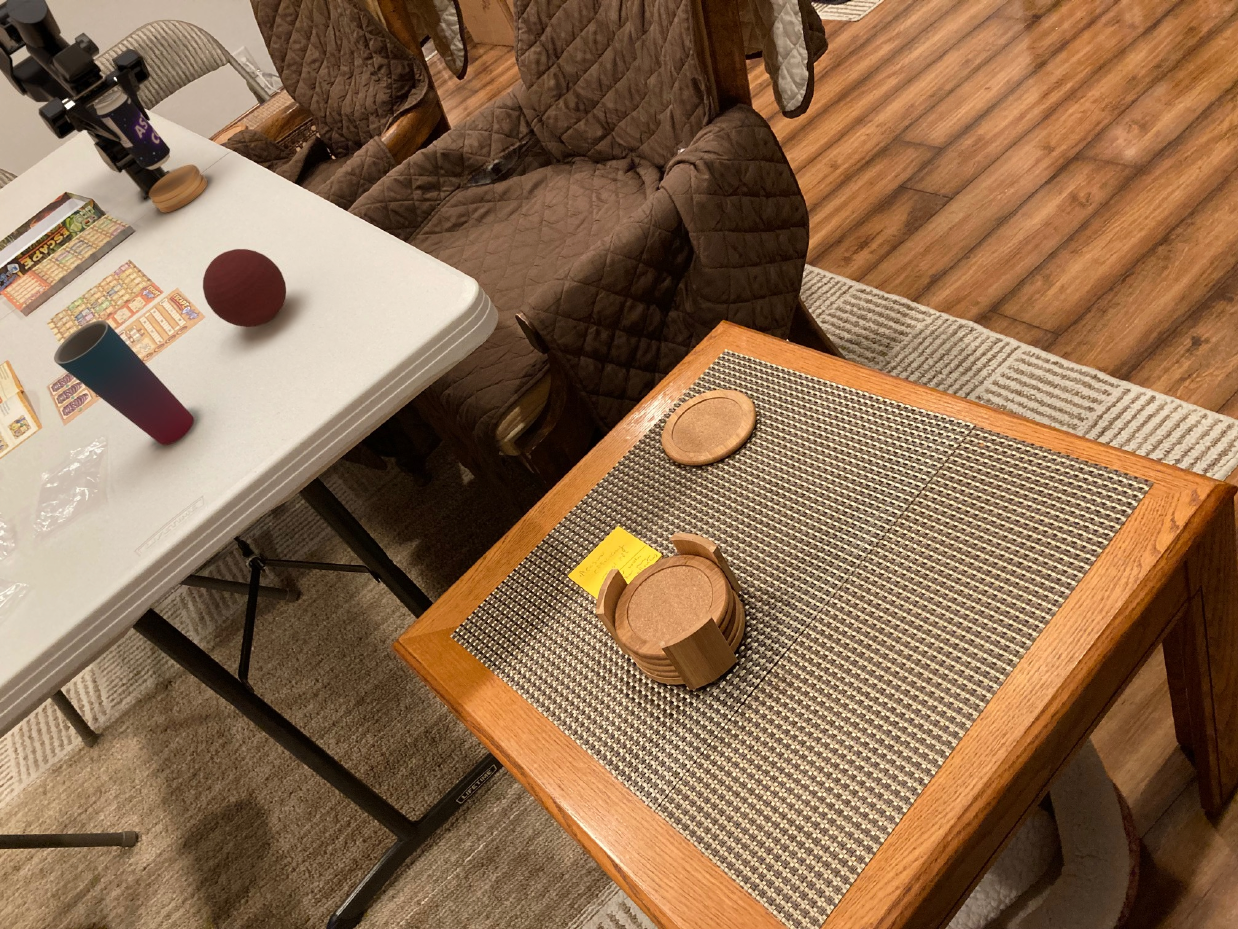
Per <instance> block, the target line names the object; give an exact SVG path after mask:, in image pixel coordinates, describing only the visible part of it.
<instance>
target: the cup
mask: <svg viewBox="0 0 1238 929" xmlns="http://www.w3.org/2000/svg"><path fill="white" fill-rule="evenodd" d="M53 361H54V362H55V363H56V364H57V365H58V367H60V368H62V369H63V370H64V371H65V372H67V373H68V374H70V376H72V377H74V378H75V379H76V380H77V381H78V382H79V383H80V384H82V385H84V386H85V387H86V388H87V389H89V390H90V391H92V392H93V393H94V394H95V395H97V396H98V397H99V398H100V399H102V400H103V401H104V402H106V403H107V404H108V405H109V406H111V407H112V408H113V409H115V410H116V411H117V412H119V413H120V414H121V415H122V416H124V417H125V418H126V419H127V420H129V421H130V422H131V423H133V424H134V425H135V426H136V427H137V428H139V429H140V430H141V431H143V432H144V433H145V434H147V435H148V436H149V437H150V438H152V439H154V441H156V442H157V443H158V444H159V445H162V446H166V445H167V446H168V445H171V444H173V443H175V442H178V441H179V440H181V439H182V438H183V437H184V436H185V435H186V434H187V433H188V432H189V431H190V429H191V428H192V427H193V424H194V421H195V418H194V416H193V414H192V413H191V412H190V411H189V410H188V409H187V408H186V406H184V404H183V403H181V401H180V400H179V399H178V398H177V397H176V396H175V395H174V394H173V393H172V392H171V390H170V389H169V388H168V387H167V386H166V385H165V384H164V383H163V382H162V380H160V378H159V377H158V376H157V375H156V374H155V373H154V372H153V370H151V368H150V367H149V366H148V365H147V364H146V363H145V362H144V360H142V359H141V357H139V355H138V354H137V353H136V352H135V350H133V349H132V348H131V347H130V346H129V344H128V343H127V342H126V341H125V340H124V339H123V338H122V337H121V336H120V335H119V334H118V332H117V331H116V330H115V329H114V328H113V327H112V326H111V324H109V323H108V322H107V321H106V320H102V319H101V320H100V319H99V320H95V321H92V322H89V323H86V324H85V325H83V326H82V327H80V328H78V329H77V330H75V331H74V332H73V333H71V334H70V335H69V336H68V337H67V338H65V340H63V341H62V343H61V344H60V345H59V346H58V347H57V349H56V351H55V353H54V356H53Z"/></svg>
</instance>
